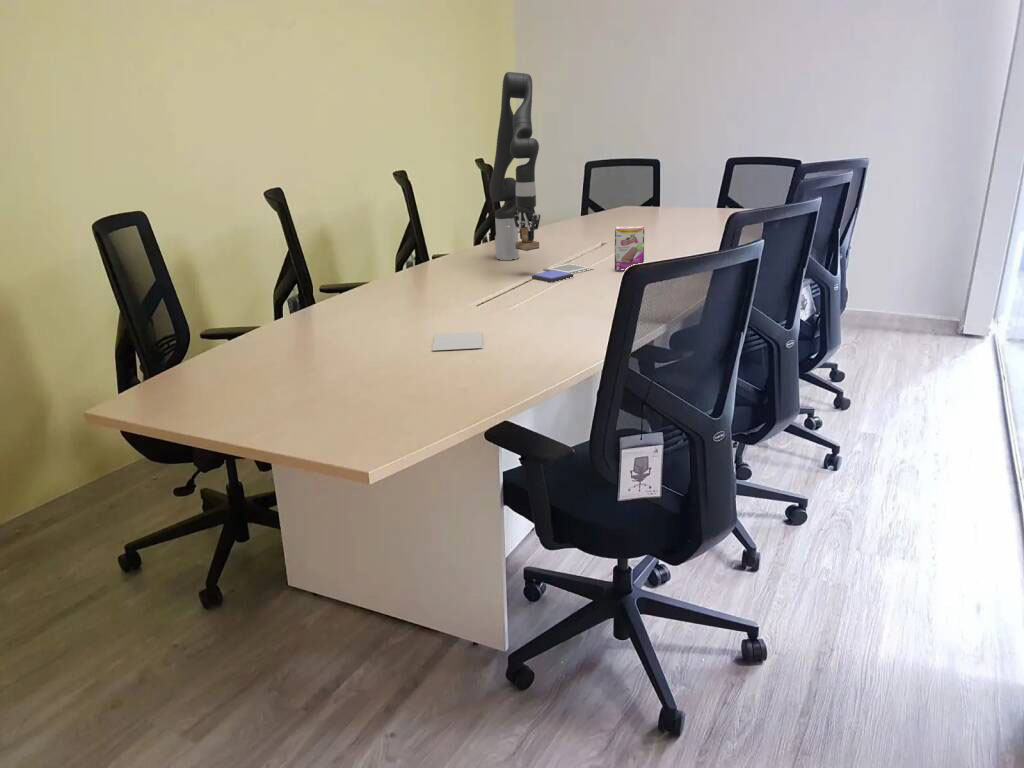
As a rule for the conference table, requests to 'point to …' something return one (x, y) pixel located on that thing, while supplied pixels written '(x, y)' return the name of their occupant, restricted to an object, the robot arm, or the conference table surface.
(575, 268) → the frame board
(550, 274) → the ink pad
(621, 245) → the candy bar box
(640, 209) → the conference table surface
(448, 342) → the paper stack
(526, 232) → the stamp
